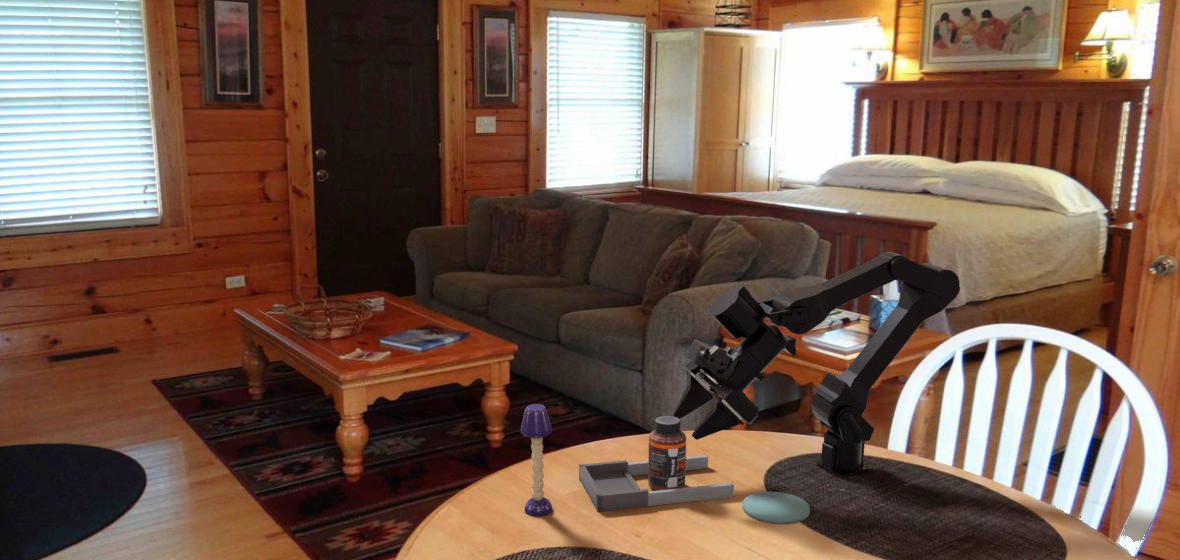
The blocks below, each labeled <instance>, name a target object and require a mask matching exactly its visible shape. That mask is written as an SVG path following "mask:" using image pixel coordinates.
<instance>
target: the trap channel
mask: <svg viewBox="0 0 1180 560" xmlns="http://www.w3.org/2000/svg"><path fill="white" fill-rule="evenodd" d="M648 463H649V462H648V460H645V461H644V460H643V461H634V462H628V461H627V459H626V460H625V459H624V460H614V461H613V460H612V461H606V462H605V461H604V462H603V461H602V462H595V463H594V462H593V463H583V464H582V463H581V464H579V465H578V468H579V469H578V472H579V473H578V479H579V481H580V484H581V485H582V487H583V488H584V490H585V492H586V494H587V497H589V499H590V501H591V503H592V504H593V506H594V508H595V510H596V512H599V513H600V512H605V511H615V510H617V511H618V510H625V509H626V510H627V509H634V508H641V507H651V506H652V507H653V506H660V505H669V504H680V503H689V502H697V501H709V500H714V499H715V500H716V499H725V498H734V496H735V484H734V483H733V482H726V483H719V484H718V483H717V484H707V485H699V486H697V485H696V486H690V487H689V486H688V487H687V486H686V487H684V488H678V489H668V490H659V491H655V490H651V491H649V489H648V488H641V487H640V486H639V485H638V483H637V482H636V481H635V479H634V476H642V475H644V476H645V475H648ZM685 467H686V469H685V470H686V471H693V470H704V469H708V468H709V456H708V455H707V454H704V455H696V456H694V455H693V456H687V457H686V466H685Z"/></svg>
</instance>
